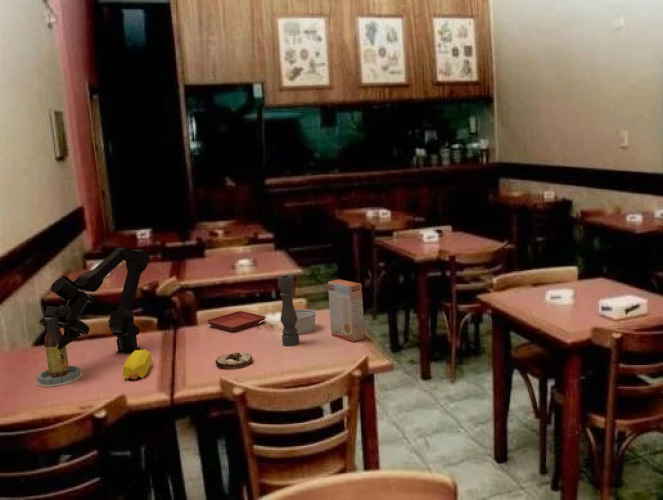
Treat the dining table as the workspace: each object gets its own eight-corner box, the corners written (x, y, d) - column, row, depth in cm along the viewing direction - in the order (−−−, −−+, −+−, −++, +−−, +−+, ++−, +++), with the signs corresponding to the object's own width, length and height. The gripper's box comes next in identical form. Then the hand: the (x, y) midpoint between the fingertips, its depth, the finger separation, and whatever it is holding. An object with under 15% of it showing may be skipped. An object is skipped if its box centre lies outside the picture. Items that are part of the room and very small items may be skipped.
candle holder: (279, 345, 234) (273, 278, 230) (287, 340, 240) (281, 275, 236) (295, 346, 232) (289, 278, 228) (302, 341, 237) (296, 275, 233)
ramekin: (316, 334, 246) (314, 316, 244) (281, 336, 246) (280, 318, 245) (317, 324, 259) (316, 308, 258) (284, 326, 259) (283, 310, 258)
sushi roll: (209, 361, 223) (208, 350, 223) (252, 354, 227) (251, 343, 227) (214, 374, 209) (213, 362, 209) (259, 367, 213) (258, 355, 213)
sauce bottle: (67, 377, 212) (59, 319, 209) (47, 379, 211) (38, 321, 208) (71, 370, 219) (63, 314, 215) (52, 372, 218) (43, 316, 214)
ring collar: (90, 372, 220) (89, 365, 219) (63, 387, 206) (62, 380, 206) (56, 371, 224) (55, 364, 223) (27, 386, 210) (26, 379, 210)
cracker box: (366, 339, 235) (362, 283, 231) (352, 342, 231) (348, 286, 228) (343, 331, 246) (340, 278, 243) (330, 335, 243) (326, 281, 239)
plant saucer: (267, 323, 267) (266, 315, 267) (232, 334, 254) (232, 326, 254) (240, 317, 280) (239, 310, 279) (206, 328, 267) (205, 320, 266)
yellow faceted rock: (154, 362, 226) (132, 365, 225) (152, 344, 225) (130, 346, 224) (145, 380, 208) (121, 383, 207) (143, 361, 207) (119, 363, 206)
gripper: (39, 294, 218) (15, 335, 211) (77, 296, 210) (53, 339, 202) (62, 310, 227) (40, 350, 219) (99, 313, 218) (77, 355, 210)
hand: (52, 348), depth 212 cm, fingers closed on sauce bottle, 6 cm apart
